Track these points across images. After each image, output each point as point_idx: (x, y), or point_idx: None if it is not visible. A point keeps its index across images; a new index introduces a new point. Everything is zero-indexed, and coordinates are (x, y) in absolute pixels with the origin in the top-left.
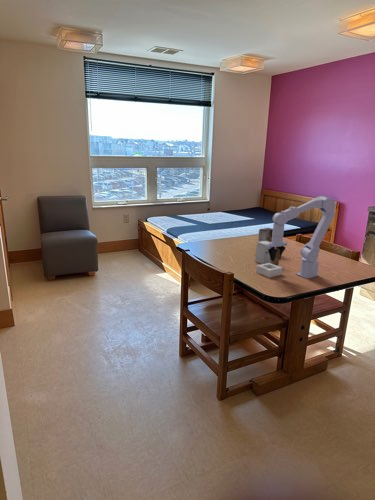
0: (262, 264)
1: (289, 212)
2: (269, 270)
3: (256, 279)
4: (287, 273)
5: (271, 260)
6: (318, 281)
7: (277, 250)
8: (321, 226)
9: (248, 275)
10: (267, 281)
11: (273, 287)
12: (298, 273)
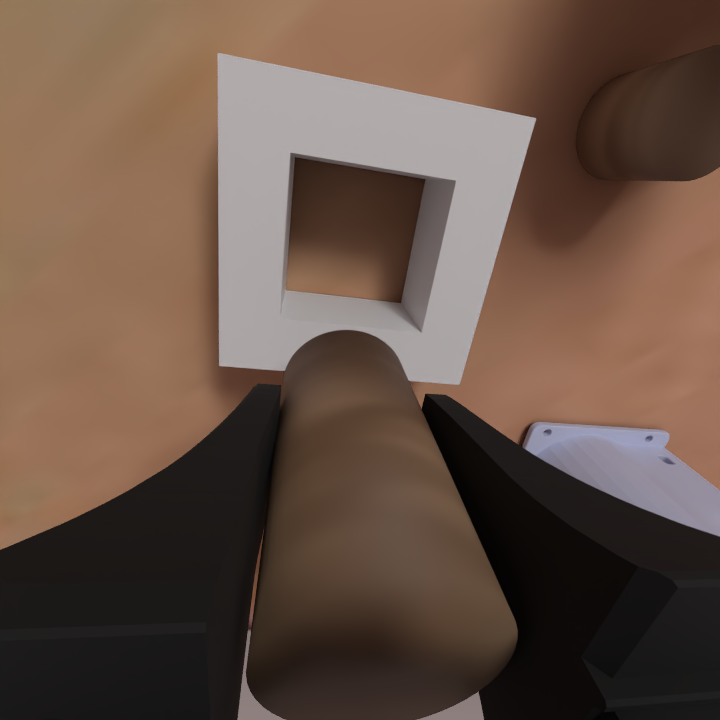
0: (357, 98)
1: None
2: (219, 357)
3: (45, 277)
4: (504, 360)
5: (293, 378)
6: None
7: (314, 717)
8: None
9: (27, 99)
10: (131, 384)
11: (77, 494)
12: (549, 435)
